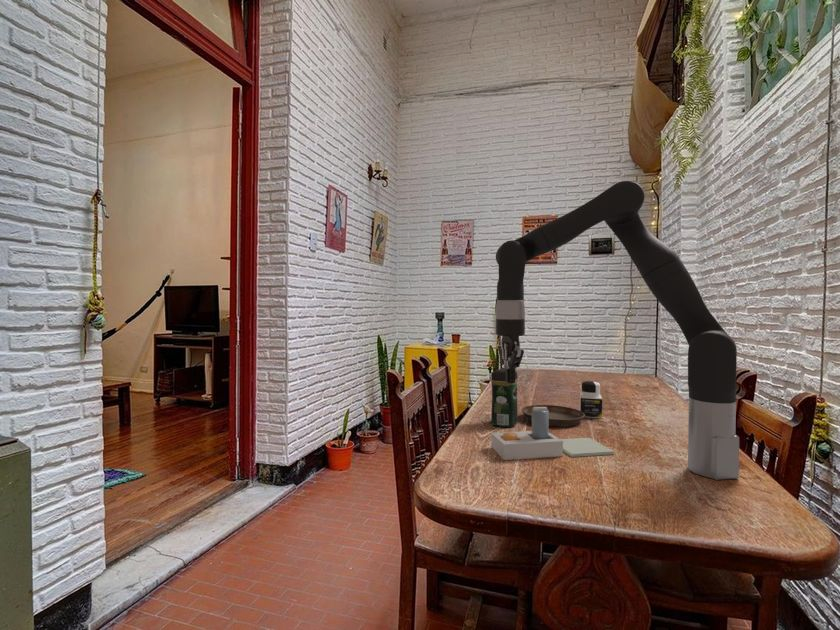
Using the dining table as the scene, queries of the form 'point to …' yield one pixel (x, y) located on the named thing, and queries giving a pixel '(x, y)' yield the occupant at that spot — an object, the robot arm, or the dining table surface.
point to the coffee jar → (503, 400)
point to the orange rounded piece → (509, 436)
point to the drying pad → (584, 447)
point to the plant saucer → (557, 415)
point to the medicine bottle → (591, 400)
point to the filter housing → (526, 446)
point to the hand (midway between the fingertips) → (510, 382)
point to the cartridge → (540, 423)
